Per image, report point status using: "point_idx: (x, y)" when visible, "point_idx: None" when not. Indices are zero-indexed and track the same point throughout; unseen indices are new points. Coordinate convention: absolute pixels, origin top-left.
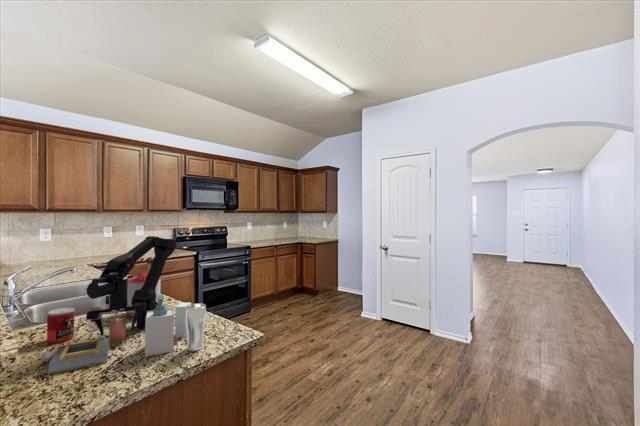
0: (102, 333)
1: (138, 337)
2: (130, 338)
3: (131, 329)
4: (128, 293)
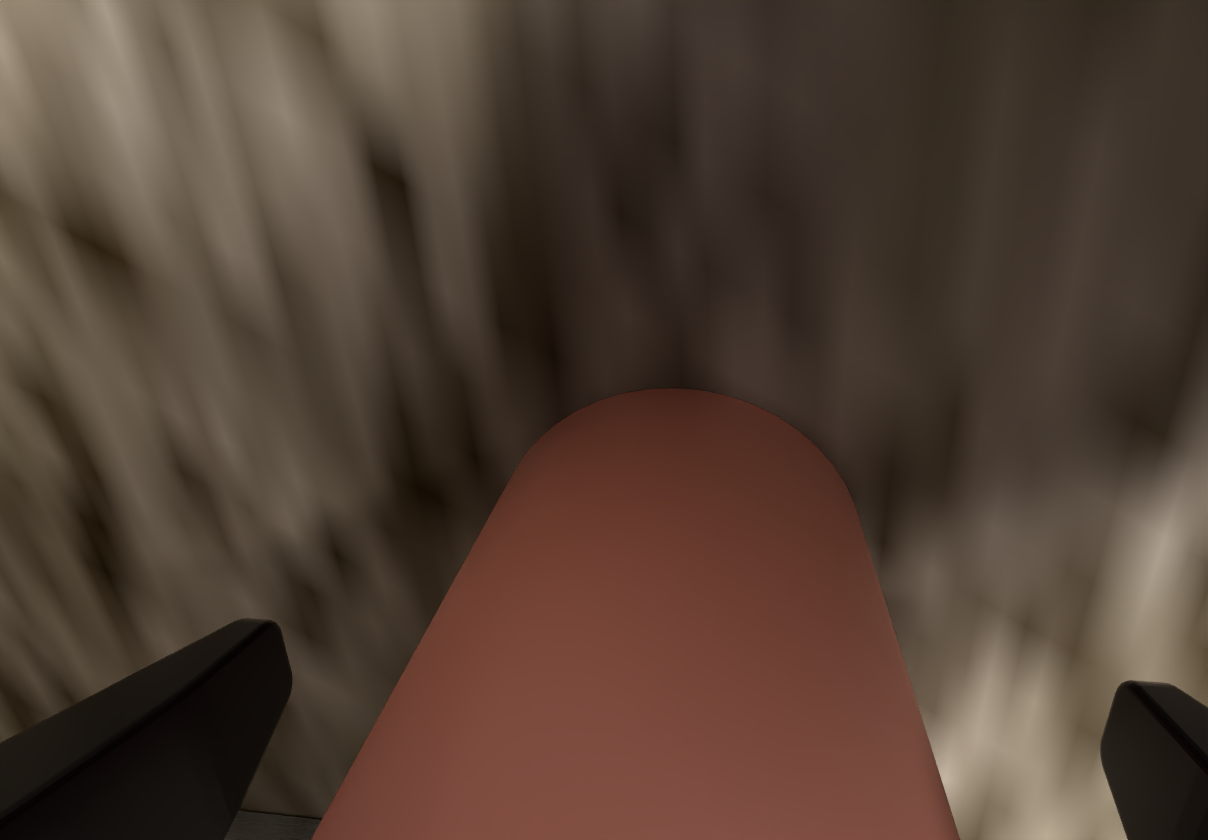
0: (245, 758)
1: None
2: (979, 691)
3: (1123, 810)
4: None
